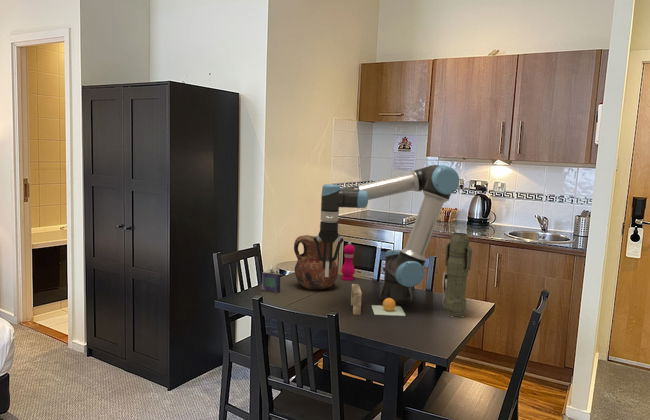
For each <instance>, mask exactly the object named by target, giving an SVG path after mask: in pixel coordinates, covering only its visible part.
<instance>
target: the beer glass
mask: <svg viewBox="0 0 650 420" xmlns="http://www.w3.org/2000/svg"><path fill="white" fill-rule="evenodd" d="M446 272H447V271H444V272H443V275H442V284H441V285H442V295H443V298H442V303H441V306H442V305H444V298H445V296H446V287H447V273H446Z"/></svg>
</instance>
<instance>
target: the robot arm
mask: <svg viewBox="0 0 650 420" xmlns="http://www.w3.org/2000/svg"><path fill="white" fill-rule="evenodd" d="M459 186H460V176H459V173H458V172H457V171H456V170H455V169H454V168H453V167H451V166H448V165H445V164H444V165H438V164H432V165H428V166H426V167H422V168H419V169H418V168H417V169H414V170H412V171H411V172H410V173H407V174H403V175H399V176H394V177H393V176H392V177H390V178H386V179H380V180H376V181H371V182H367V183H362V184H358V185H353V186H345V187H342V188H341V186H340V185H339V184H332V183H327V184H323V185H322V188H321V195H320V196H321V197H320V200H321V201H320V203H321V204H320V220H321V221H320V224H319V231H318V235H315V236H316V237H314V241H315V242H316V247H317V252H318V257H319V260H322V261H323V269H325V277H328V276H329V269H331V268H332V261H337V258H338V255H339V251H340V248H341V245H342V243H343V242H344V238H343V237H341V236H340V235H339V222H338V221H339V213H340V208H345V209H346V208H351V209H366V208H367V207H368V204H369V201H370V200H375V199H380V198H384V197H388V196H389V197H390V196H392V195H393V196H394V195H397V194H403V193H407V192H410V191H414V192H421V191H422V193H423V197H424V198H423V200H422V202H421V205H420V208H419V210H418V213H417V216H416V218H415V220H414V223H413V227H412V229H411V232H410V234H409V237H408V239H407V242H406V245H405V247H404V248H402V249H401V250H400V249H389V250H386V253H385V256H384V274H383V275H384V276H383V282H382V283H383V284H382V286H381V289H380V291H379V296H378V299H379V300H381V302H383V301H384V300H385V299H387V298H391V299H393V300H394V301H395V304H396V305H400V304H401V305H403V304H405V305H406V304H411V303H412V302H413V294H412V290H411V289H412V287H416V286H418V285H420V284H421V282H423V280H424V278H425V268H424V266H425V263H426V260H427V259H426V257H425V254H426V252H427V251H426V250H427V248H428V246H429V243H430V241H431V238H432V235H433V232H434V229H435V227H436V224H437V222H438V219H439V216H440V214H441V211H442V209H443V206H444V203H447V202H448V201H449V200H450V197H451V196H452V194H453V193H454V192H456V191H457V190H458V188H459ZM319 237H320V238H321V240H322V241H323V242H324V248H323V257H321V251H320V246H319V242H318V241H319ZM336 240H337V245H336V248H335V251H334V255H333V249H334V248H333V247H334V246H333V245H334V243H335V242H336ZM327 243H330V249H329V261H326V248H327Z"/></svg>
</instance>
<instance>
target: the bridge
mask: <svg viewBox="0 0 650 420" xmlns="http://www.w3.org/2000/svg"><path fill="white" fill-rule="evenodd" d="M350 292H351V293H350V306H352V315H356V316H357V315H359V316H360V315H361V311H362V309H361V307H362V294H363V293H362V290H361V287H360V284H359V283H352V284H351V291H350Z"/></svg>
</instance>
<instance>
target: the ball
mask: <svg viewBox="0 0 650 420" xmlns="http://www.w3.org/2000/svg"><path fill="white" fill-rule="evenodd" d="M382 306H383V308H384V309H385V310H387V311H392V310H393V309H394V308H395V306H397V304H395V301H394V300H393V299H391V298H387V299H385V300H384V301H382Z"/></svg>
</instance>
